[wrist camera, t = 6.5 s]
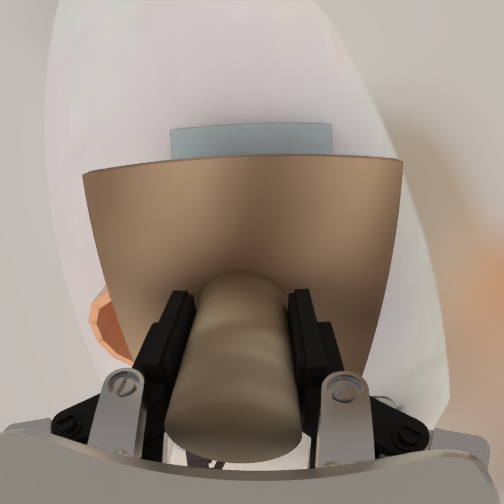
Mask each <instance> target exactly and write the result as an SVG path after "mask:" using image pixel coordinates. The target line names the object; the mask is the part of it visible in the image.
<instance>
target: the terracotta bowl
mask: <svg viewBox="0 0 504 504" xmlns="http://www.w3.org/2000/svg"><path fill="white" fill-rule="evenodd" d="M89 323H90V325H91V328H92V330H93V332H94V335H95V337H96V339H97V340H98V342H99V343H100V344H101V345H102V346H103V347H104V348H105V349H106V350H107V351H108V352H109V353H110V354H111V355H112V356H113V357H114V358H116V359H118V360H120V361H122V362H124V363H126V364H128V365H130V366H133V364H134V361H133V359H132V356H131V354H130V351H129V348H128V346H127V343H126V341H125V338H124V335H123V333H122V330H121V327H120V324H119V322H118V319H117V316H116V313H115V310H114V307H113V304H112V301H111V297H110V294H109V291H108V288H107V285H106V286H105V287H104V288H103V290H102V291H101V292H100V293H99V295H98V296H97V297H96V298H95V300H94V301H93V302H92V305H91V311H90V317H89Z"/></svg>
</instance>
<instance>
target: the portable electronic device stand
mask: <svg viewBox="0 0 504 504" xmlns="http://www.w3.org/2000/svg"><path fill="white" fill-rule="evenodd" d="M186 457H187V465H188V467H196V468H207V469H219V470H222V468H223V466H224V464H225V462H221V461H217V462H216V464H215V466H214V468H209V465H208V463H211V462H212V460H211V459H207V458H204V457H200V456H198V455H195V454H193V453H191V452H188V451H186Z"/></svg>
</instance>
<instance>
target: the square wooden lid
mask: <svg viewBox="0 0 504 504" xmlns="http://www.w3.org/2000/svg"><path fill="white" fill-rule="evenodd" d="M402 171H403V161H400V160H397V159H394V158H383V157H369V156H353V155H330V154H253V155H229V156H212V157H198V158H186V159H175V160H166V161H157V162H148V163H140V164H133V165H125V166H119V167H112V168H106V169H100V170H94V171H90V172H88V173H85V174H83V175H82V177H83V183H84V189H85V195H86V201H87V206H88V211H89V216H90V221H91V226H92V230H93V235H94V239H95V243H96V248H97V252H98V255H99V259H100V263H101V267H102V270H103V274H104V278H105V281H106V284H107V288H108V291H109V294H110V297H111V301H112V304H113V307H114V310H115V313H116V316H117V319H118V322H119V324H120V327H121V330H122V333H123V335H124V338H125V341H126V343H127V346H128V348H129V351H130V354H131V356H132V359H133V361H134V362H135V359H136V357H137V355H138V353H139V351H140V348H141V346H142V344H143V342H144V340H145V337H146V335H147V333H148V331H149V329H150V327H151V325H152V323H154V322H159V320H160V317H161V315H162V313H163V311H164V309H165V306H166V304H167V302H168V300H169V298H170V296H171V294H172V292H173V291H174V290H187V291H188V292H189V294H193V296H194V302H195V308H196V314H195V318H194V321H193V324H192V328H191V331H190V334H189V338H188V341H187V344H186V348H185V351H184V354H183V358H182V361H181V365H180V368H179V372H178V375H177V379H176V382H175V386H174V389H173V393H172V397H171V400H170V404H169V407H168V411H167V415H166V419H165V423H164V427H165V431H166V433H167V435H168V436H169V438H170V439H171V440H172V441H173V442H175V443H176V444H177V445H178V446H180V447H181V448H183V449H185V450H186V451H188V452H191V453H193V454H195V455H198V456H200V457H204V458H207V459H211V460H215V461H221V462H229V463H255V462H262V461H268V460H272V459H275V458H278V457H281V456H283V455H285V454H287V453H289V452H291V451H292V450H293V449H295V448H296V447H297V446H298V444H299V443H300V441H301V438H302V429H301V419H300V409H299V399H298V392H297V387H296V377H295V368H294V359H293V350H292V341H291V333H290V324H289V316H288V296H289V293H294V289H309V291H310V295H311V299H312V303H313V307H314V311H315V315H316V319H317V322H326V321H330V322H331V324H332V328H333V331H334V334H335V338H336V341H337V345H338V348H339V351H340V355H341V358H342V362H343V366H344V369H345V371H349V372H353V373H356V374H358V375H360V376H361V377H362V374H363V371H364V368H365V365H366V362H367V359H368V355H369V352H370V349H371V345H372V342H373V338H374V335H375V331H376V327H377V323H378V319H379V315H380V311H381V307H382V303H383V299H384V294H385V290H386V285H387V280H388V275H389V270H390V265H391V259H392V253H393V247H394V241H395V235H396V228H397V220H398V213H399V204H400V195H401V184H402Z"/></svg>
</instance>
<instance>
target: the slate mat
mask: <svg viewBox="0 0 504 504" xmlns="http://www.w3.org/2000/svg"><path fill="white" fill-rule="evenodd" d="M170 139H171V151H172V160H175V159H186V158H198V157H212V156H229V155H253V154H330V155H331V124H314V123H259V124H236V125H220V126H207V127H197V128H187V129H178V130H170Z"/></svg>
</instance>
